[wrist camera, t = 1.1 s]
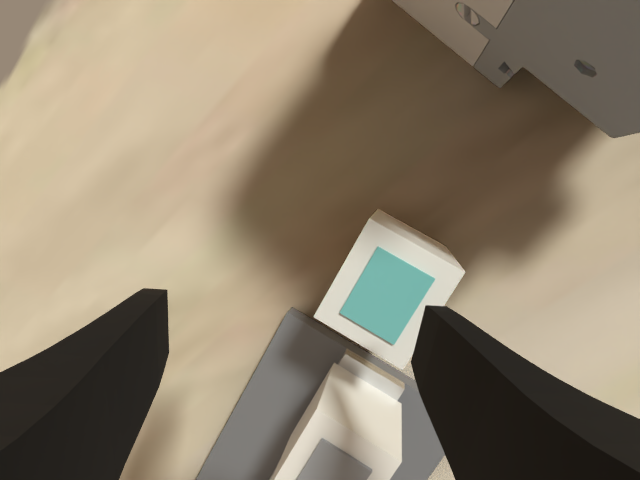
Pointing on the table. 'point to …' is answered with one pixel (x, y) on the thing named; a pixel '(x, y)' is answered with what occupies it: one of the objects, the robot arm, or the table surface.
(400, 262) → the block
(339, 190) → the table surface
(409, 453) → the board
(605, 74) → the circuit breaker
